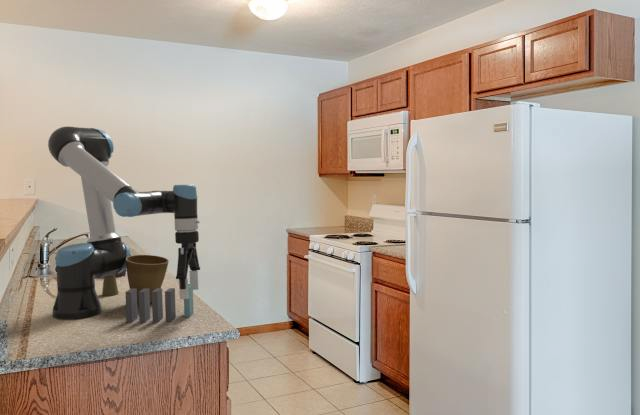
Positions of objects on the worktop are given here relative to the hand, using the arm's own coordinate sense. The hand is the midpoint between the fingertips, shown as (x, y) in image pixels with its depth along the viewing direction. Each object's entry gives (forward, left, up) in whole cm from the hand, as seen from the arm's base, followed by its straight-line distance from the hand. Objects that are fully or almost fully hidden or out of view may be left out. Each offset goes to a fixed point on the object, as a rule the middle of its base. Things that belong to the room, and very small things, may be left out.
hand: (189, 294), depth 176 cm
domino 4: (-5, -6, -7) cm, 10 cm away
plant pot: (-21, +17, -7) cm, 28 cm away
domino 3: (-9, -6, -7) cm, 13 cm away
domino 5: (0, 0, -7) cm, 7 cm away
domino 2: (-13, -6, -7) cm, 16 cm away
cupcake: (-51, +68, -8) cm, 86 cm away
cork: (-39, +31, -7) cm, 51 cm away
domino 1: (-17, -6, -7) cm, 20 cm away
